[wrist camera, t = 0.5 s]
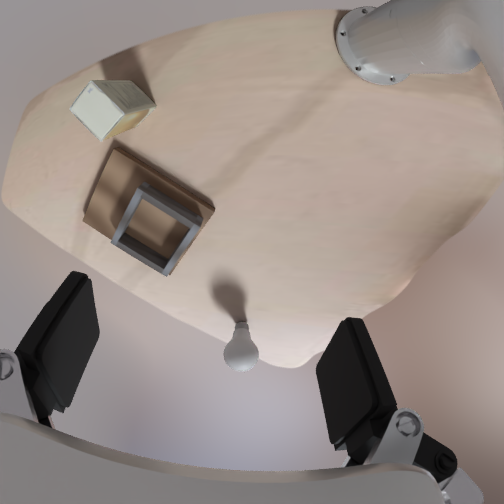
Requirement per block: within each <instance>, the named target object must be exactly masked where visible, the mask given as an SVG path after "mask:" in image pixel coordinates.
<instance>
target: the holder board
mask: <svg viewBox="0 0 504 504" xmlns="http://www.w3.org/2000/svg"><path fill="white" fill-rule="evenodd" d="M214 211H215V208H214V207H212V206H210V205H209V204H207V203H206V202H204V201H203V200H201V199H200V198H198V197H196V196H195V195H193V194H192V193H190V192H189V191H187V190H186V189H184V188H182V187H181V186H179V185H178V184H176V183H175V182H173V181H171V180H170V179H168V178H167V177H165V176H163V175H162V174H160V173H159V172H157V171H156V170H154V169H152V168H151V167H149V166H148V165H146V164H144V163H143V162H141V161H140V160H138V159H136V158H135V157H133V156H132V155H130V154H128V153H127V152H125V151H124V150H122V149H120V148H119V147H117V148H115V149H113V151H112V153H111V155H110V157H109V160H108V162H107V164H106V166H105V168H104V170H103V172H102V175H101V177H100V179H99V181H98V184H97V186H96V188H95V191H94V193H93V195H92V198H91V200H90V203H89V205H88V208H87V210H86V213H85V216H84V218H83V222H85V223H86V224H88V225H89V226H91V227H93V228H94V229H96V230H97V231H99V232H100V233H102V234H103V235H105V236H106V237H108V238H110V239H111V243H112V244H114V245H115V246H117V247H118V248H120V249H122V250H123V251H125V252H126V253H128V254H130V255H131V256H133V257H134V258H136V259H138V260H139V261H141V262H143V263H144V264H146V265H148V266H149V267H151V268H153V269H154V270H156V271H158V272H159V273H161V274H163V275H165V276H166V277H167V276H168V274H169V275H171V273H172V272H173V270H174V269H175V267H176V266H177V264H178V263H179V261H180V260H181V259H182V257H183V256H184V254H185V253H186V251H187V250H188V248H189V247H190V246H191V244H192V243H193V241H194V240H195V238H196V237H197V236H198V234H199V233H200V231H201V230H202V229H203V227H204V226H205V224H206V223H207V222H208V220H209V219H210V217H211V216H212V215H213V213H214Z"/></svg>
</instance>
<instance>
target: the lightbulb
mask: <svg viewBox="0 0 504 504" xmlns="http://www.w3.org/2000/svg"><path fill="white" fill-rule="evenodd" d="M258 357H259V353H258V349H257V347H256V345H255V344H254V342H253V341H252V340H251V337H250V332H249V328H248V324H247V323H245V322H238V323H237V324H236V326H235V331H234V333H233V337H232V339H231V341H230V342H229V343H228V344H227V345H226V347H225V350H224V360H225V362H226V364H227V365H228V366H229V367H230V368H231V369H233V370H235V371H247V370H249V369H251V368H252V367H253V366H255V364H256V363H257V361H258Z"/></svg>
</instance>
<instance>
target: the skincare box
mask: <svg viewBox="0 0 504 504" xmlns="http://www.w3.org/2000/svg"><path fill="white" fill-rule="evenodd" d="M155 108H156V105H155V104H154V103H153V101H152V100H151V99H150V98H149V97H148V96H147V95H146V94H145V93H144V92H143V91H142V90H141V89H140V88H139V87H137V86H136V85H135V84H134V83H133V82H132V81H131V80H92V81H90V82H89V83H88V84H87V86H86V87H85V88H84V89H83V91H82V92H81V93H80V94H79V96H78V97H77V98H76V100H75V101H74V103H73V104H72V106H71V107H70V110H71V112H72V113H73V114H74V115H75V116H76V117H77V119H78V120H79V121H80V122H81V123H82V124H83V125H84V126H85V127H86V128H87V129H88V130H89V131H90V132H91V133H92V134H93V135H94V136H95V137H96V138H98V139H99V140H100V141H103V140H106V139H108V138H110V137H113V136H115V135H117V134H120V133H122V132H124V131H127V130H129V129H132V128H134V127H137V126H138V125H139V124H140V123H141V122H142V121H143V120H144V119H145V118H146V117H147V116H148V115H149V114H150V113H151V112H152V111H153V110H154V109H155Z"/></svg>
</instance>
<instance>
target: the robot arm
mask: <svg viewBox="0 0 504 504" xmlns="http://www.w3.org/2000/svg"><path fill="white" fill-rule="evenodd" d="M363 12H364V13H363ZM340 33H342V34H343V36H342V35H341V34H340ZM336 44H337V48H338V51H339V54H340V56H341V58H342V60H343V61H344V63H345V64H346V65H347V67H348V68H349V69H350V70H351V71H352V72H353V73H354V74H356V75H357V76H359V77H360V78H361V79H363V80H365V81H367V82H370V83H373V84H378V85H393V84H397V83H399V82H401V81H403V80H404V79H406V78H407V77H408V76H409V75H410V74H460V73H464V72H468V71H470V70H471V69H473V68H474V67H476V66H477V65H478V64H479V63H480V62H481V61H482V63H483V65H484V67H485V69H486V71H487V73H488V75H489V76H490V78H491V80H492V82H493V84H494V87H495V89H496V91H497V94H498V96H499V99H500V101H501V104H502V107H503V109H504V0H391V1H389V2H387V3H385V4H383V5H382V6H380V7H378V8H375V7H360V8H356V9H354V10H352V11H350V12H348V13H347V14H346V15H345V16H344V17H343V18H342V19H341V21H340V22H339V24H338V27H337V30H336ZM355 67H357V68H358V70H356V69H355ZM390 78H391V80H390ZM99 333H100V331H99V325H98V319H97V314H96V308H95V303H94V295H93V288H92V281H91V279H88V276H87V275H86V274H84V273H80V272H76V271H72V272H71V273H70V274H69V275H68V276H67V278H66V279H65V280H64V282H63V283H62V284H61V286H60V287H59V288H58V290H57V291H56V292H55V294H54V295H53V296H52V298H51V299H50V301H49V302H47V303H46V305H45V306H44V307H43V309H42V310H41V312H40V313H39V315H38V316H37V318H36V319H35V320H34V322H33V324H32V325H31V327H30V328H29V329H28V331H27V333H26V334H25V336H24V337H23V339H22V340H21V342H20V344H19V345H18V347H17V349H16V350H15V352H12V351H10V350H7V349H0V504H483V500H484V497H483V493H482V491H481V490H480V489H479V488H478V487H477V485H476V484H475V483H474V482H473V481H472V480H471V479H470V478H469V476H468V475H467V474H466V473H465V472H464V471H463V470H462V469H461V468H458V469H457V459H456V456H455V454H454V453H453V451H452V450H450V449H449V448H447V447H446V446H444V445H442V444H441V443H439V442H438V441H436V440H435V439H433V438H431V437H430V436H428V435H426V434H425V433H424V432H423V431H424V424H423V421H422V419H421V417H420V416H419V414H418V413H416V412H415V411H413V410H411V409H409V408H401V409H397V406H396V405H397V403H396V400H395V398H394V395H393V392H392V390H391V387H390V385H389V382H388V379H387V377H386V374H385V372H384V369H383V367H382V364H381V362H380V359H379V357H378V354H377V352H376V350H375V347H374V345H373V342H372V340H371V338H370V335H369V333H368V331H367V328H366V326H365V324H364V322H363V320H362V319H361V318H351V317H347V318H346V319H345V320H344V321H341V323H340V324H339V326H338V328H337V330H336V332H335V334H334V335H333V337H332V339H331V341H330V343H329V344H328V346H327V348H326V350H325V352H324V353H323V355H322V357H321V359H320V360H319V362H318V364H317V367H316V375H317V379H318V384H319V389H320V394H321V399H322V403H323V408H324V413H325V418H326V423H327V428H328V434H329V439H330V442H331V444H334V447H335V451H337V450H347V452H348V457H347V458H346V460H345V461H344V463H343V465H342V466H341V468H332V469H319V470H305V471H276V472H275V471H240V470H225V469H214V468H205V467H197V466H189V465H182V464H176V463H171V462H165V461H159V460H155V459H150V458H145V457H141V456H137V455H132V454H128V453H124V452H121V451H117V450H114V449H110V448H107V447H103V446H100V445H97V444H94V443H91V442H88V441H85V440H82V439H79V438H76V437H73V436H71V435H68V434H65V433H63V432H60V431H58V430H56V429H55V427H54V424H53V422H52V419H51V416H50V415H51V414H52V411H53V409H54V410H57V411H59V412H62V413H64V410H65V407H69V406H70V404H71V402H72V400H73V397H74V394H75V392H76V389H77V387H78V384H79V382H80V379H81V377H82V375H83V372H84V370H85V368H86V365H87V363H88V361H89V358H90V356H91V354H92V352H93V349H94V347H95V345H96V343H97V341H98V338H99Z"/></svg>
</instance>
